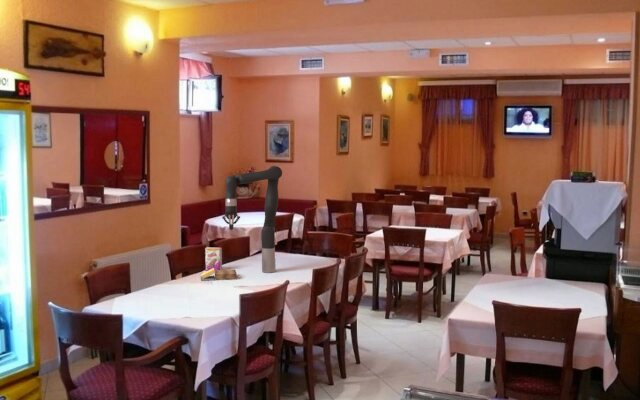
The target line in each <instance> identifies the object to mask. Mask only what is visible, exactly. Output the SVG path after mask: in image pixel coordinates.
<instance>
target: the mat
mask: <svg viewBox="0 0 640 400" xmlns="http://www.w3.org/2000/svg"><path fill="white" fill-rule="evenodd" d="M207 281H208V282H209V281H210V282H212V281H216V280H215V275H210V276H208V277H206V278H204V279H203V278H202V275H201V276H200V282H207Z"/></svg>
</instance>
